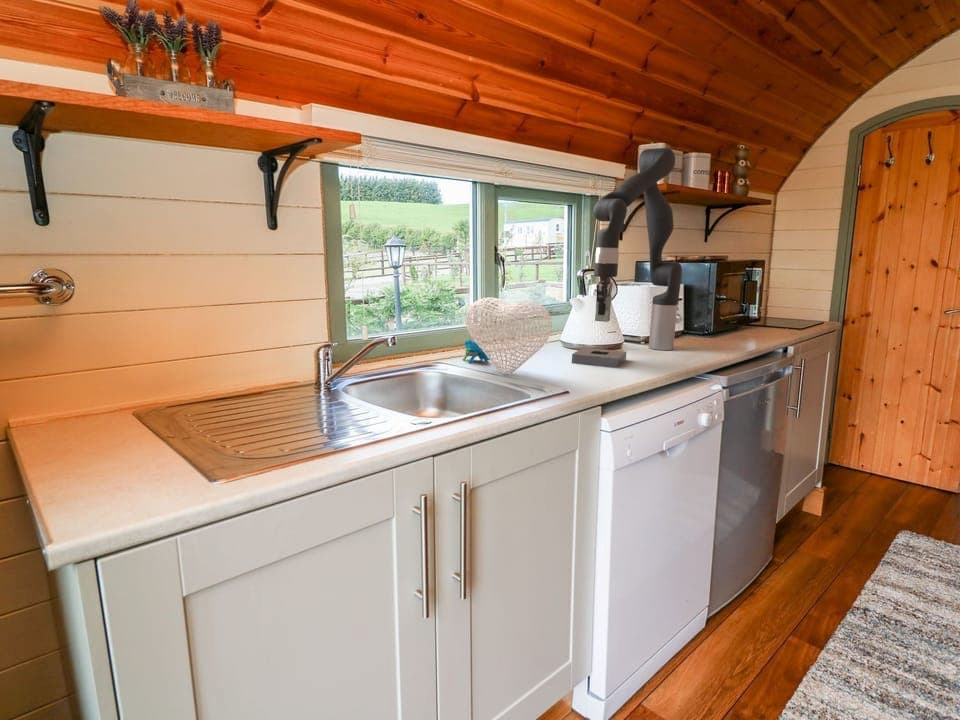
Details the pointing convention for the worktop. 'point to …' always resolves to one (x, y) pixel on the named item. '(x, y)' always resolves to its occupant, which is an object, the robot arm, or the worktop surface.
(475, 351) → the blue irregular piece
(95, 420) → the worktop surface
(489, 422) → the worktop surface
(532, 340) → the heart
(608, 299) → the peg
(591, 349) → the hole block
